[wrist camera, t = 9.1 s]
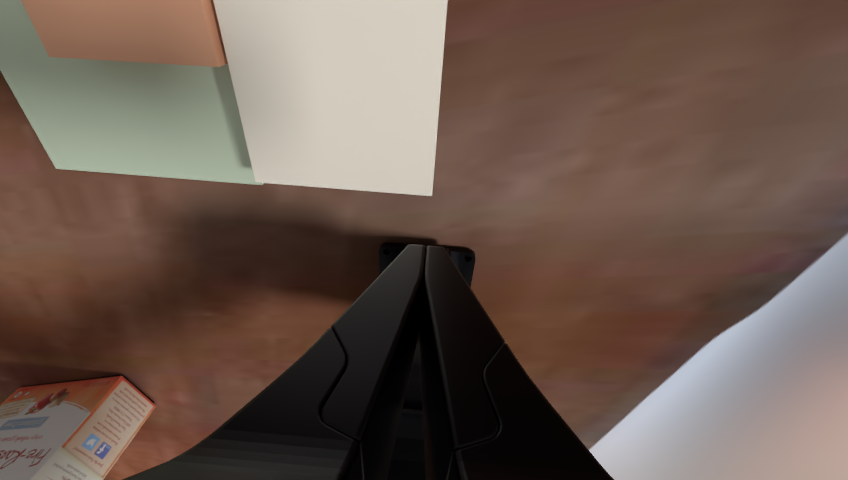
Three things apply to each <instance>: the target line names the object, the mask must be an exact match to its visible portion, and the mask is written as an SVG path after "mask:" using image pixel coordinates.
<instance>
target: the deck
mask: <svg viewBox="0 0 848 480" xmlns="http://www.w3.org/2000/svg"><path fill="white" fill-rule="evenodd" d="M213 1H214V5H215V10H216V14H217V18H218V23H219V27H220V31H221V36H222V40H223V44H224V48H225V53H226V57H227V61H228V66H229V70H230V74H231V79H232V83H233V87H234V92H235V96H236V100H237V105H238V109H239V113H240V117H241V122H242V126H243V130H244V135H245V139H246V143H247V148H248V152H249V156H250V161H251V165H252V169H253V173H254V178H255V182H260V183H273V184H285V185H298V186H311V187H323V188H336V189H349V190H361V191H374V192H387V193H399V194H412V195H425V196H432V190H433V178H434V165H435V153H436V140H437V128H438V115H439V102H440V90H441V77H442V64H443V52H444V39H445V27H446V14H447V1H448V0H213Z"/></svg>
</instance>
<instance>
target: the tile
mask: <svg viewBox="0 0 848 480" xmlns="http://www.w3.org/2000/svg"><path fill="white" fill-rule="evenodd" d="M21 1H22V3H23V5H24V7H25V9H26V11H27V13H28V15H29V17H30V19H31V21H32V23H33V25H34V27H35V29H36V31H37V33H38V35H39V37H40V39H41V41H42V43H43V45H44V47H45V50H46V52H47V54H48V56H49V57H57V58H74V59H91V60H108V61H125V62H142V63H159V64H177V65H194V66H211V67H220V66H223V65H226V64H228V61H227V57H226V53H225V48H224V44H223V40H222V36H221V31H220V27H219V23H218V18H217V14H216V10H215V5H214V1H213V0H21Z"/></svg>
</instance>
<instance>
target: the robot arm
mask: <svg viewBox="0 0 848 480" xmlns="http://www.w3.org/2000/svg"><path fill="white" fill-rule="evenodd" d="M385 249H388V250H390V251H389V252H387V251H385ZM466 256H471V257H470V258H465V257H466ZM474 264H475V253H474V251H472V250H470V249H459V248H447V247H441V246H428V245H416V244H397V243H384V244H382V245H381V248H380V275H379V276H378V277H377V279H376V280H375V281H374V282H373V283H372V284H371V285H370V286H369V287H368V288H367V289H366V290H365V291H364V292H363V293H362V294H361V295H360V297H359V298H358V299H357V300H356V301H355V302H354V303H353V304H352V305H351V306H350V307H349V308H348V309H347V310H346V311H345V312H344V313H343V314H342V316H341V317H340V318H339V319H338V320H337V321H336V322H335V323H334V324H333V325H332V326H331V328H329V329H328V330H327V331H326V332H325V333H324V334H323V335H322V336H321V338H320V339H319V340H318V341H317V342H316V343H315V344H314V345H313V346H312V347H311V348H310V349H309V350H308V351H307V352H306V353H305V354H304V355H303V356H302V357H301V358H299V359H298V360H297V361H296V362H295V363H294V364H293V365H292V366H290V367H289V368H288V369H287V370H286V371H285V372H284V373H283V374H281V375H280V376H279V377H278V378H277V379H276V380H275V381H273V382H272V383H271V384H270V385H269V386H268V387H266V388H265V389H264V390H263V391H262V392H260V393H259V394H258V395H257V396H256V397H255V398H253V399H252V400H251V401H250V402H249V403H247V404H246V405H245V406H244V407H243V408H242V409H240V410H239V411H238V412H237V413H236V414H234V415H233V416H232V417H231V418H230V419H229V420H227V421H226V422H225V423H224V424H223V425H222V426H220V427H219V428H218V429H217V430H215V431H214V432H213V433H212V434H210V435H209V436H208V437H207V438H205V439H204V440H202V441H201V442H200V443H198V444H197V445H195V446H194V447H192V448H191V449H189V450H187V451H186V452H184V453H183V454H181V455H179V456H177V457H175V458H173V459H171V460H170V461H167V462H165V463H163V464H160V465H158V466H156V467H153V468H151V469H148V470H146V471H143V472H140V473H138V474H135V475H133V476H130V477H128V478H125V479H123V480H614V479H613V478H612V477H611V476H610V475H609V474H608V473H607V472H606V471H605V469H604V468H603V467H602V466H601V465H600V464H599V462H598V461H597V460H596V459H595V458H594V456H593V455H592V454H591V453H590V452H589V450H588V449H587V448H586V447H585V445H584V444H583V443H582V442H581V441H580V439H579V438H578V437H577V436H576V435H575V433H574V432H573V431H572V430H571V428H570V427H569V426H568V425H567V424H566V422H565V421H564V420H563V419H562V418H561V416H560V415H559V414H558V413H557V411H556V410H555V409H554V408H553V407H552V405H551V404H550V403H549V402H548V400H547V399H546V398H545V397H544V395H543V394H542V393H541V392H540V390H539V389H538V388H537V386H536V385H535V384H534V383H533V381H532V380H531V379H530V378H529V376H528V375H527V373H526V372H525V370H524V369H523V367H522V366H521V365H520V363H519V362H518V360H517V359H516V357H515V356H514V354H513V353H512V351H511V350H510V348H509V346H508V345H507V344H506V343H505V341H504V339H503V338H502V336H501V334H500V333H499V331H498V330H497V328H496V327H495V325H494V324H493V322H492V321H491V319H490V318H489V316H488V314H487V313H486V311H485V310H484V308H483V307H482V305H481V304H480V302H479V301H478V299H477V298H476V296H475V294H474V293H473V291H472V290H471V288H470V287H471V281H472V275H473V270H474Z"/></svg>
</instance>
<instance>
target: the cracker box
mask: <svg viewBox="0 0 848 480" xmlns="http://www.w3.org/2000/svg"><path fill="white" fill-rule="evenodd" d="M155 407H156V405H155V404H154V403H153V402H152V401H150V400H149V399H148V398H147V397H146V396H145V395H144V394H142V393H141V392H140V391H139V390H138V389H137V388H136V387H135V386H133V385H132V384H131V383H130V382H129V381H128V380H126V379H125V378H124V377H123V376H122V375H121V376H116V377H107V378H98V379H90V380H81V381H72V382H63V383H55V384H46V385H37V386H28V387H20V388H18V389H17V390H16V391H15V392H14V393H13V394H11V395H10V396H9V397H8V398H7V399H6V400H5V401H4V402H3V403H1V404H0V480H103V479H104V478H105V476H106V475H107V473H108V472H109V471H110V469H111V468H112V467H113V465H114V464H115V462H116V461H117V460H118V458H119V457H120V456H121V454H122V453H123V451H124V450H125V449H126V447H127V446H128V445H129V443H130V442H131V440H132V439H133V438H134V436H135V435H136V434H137V432H138V431H139V429H140V428H141V427H142V425H143V424H144V423H145V421H146V420H147V418H148V417H149V415H150V414H151V413H152V411H153V410H154V409H155Z"/></svg>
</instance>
